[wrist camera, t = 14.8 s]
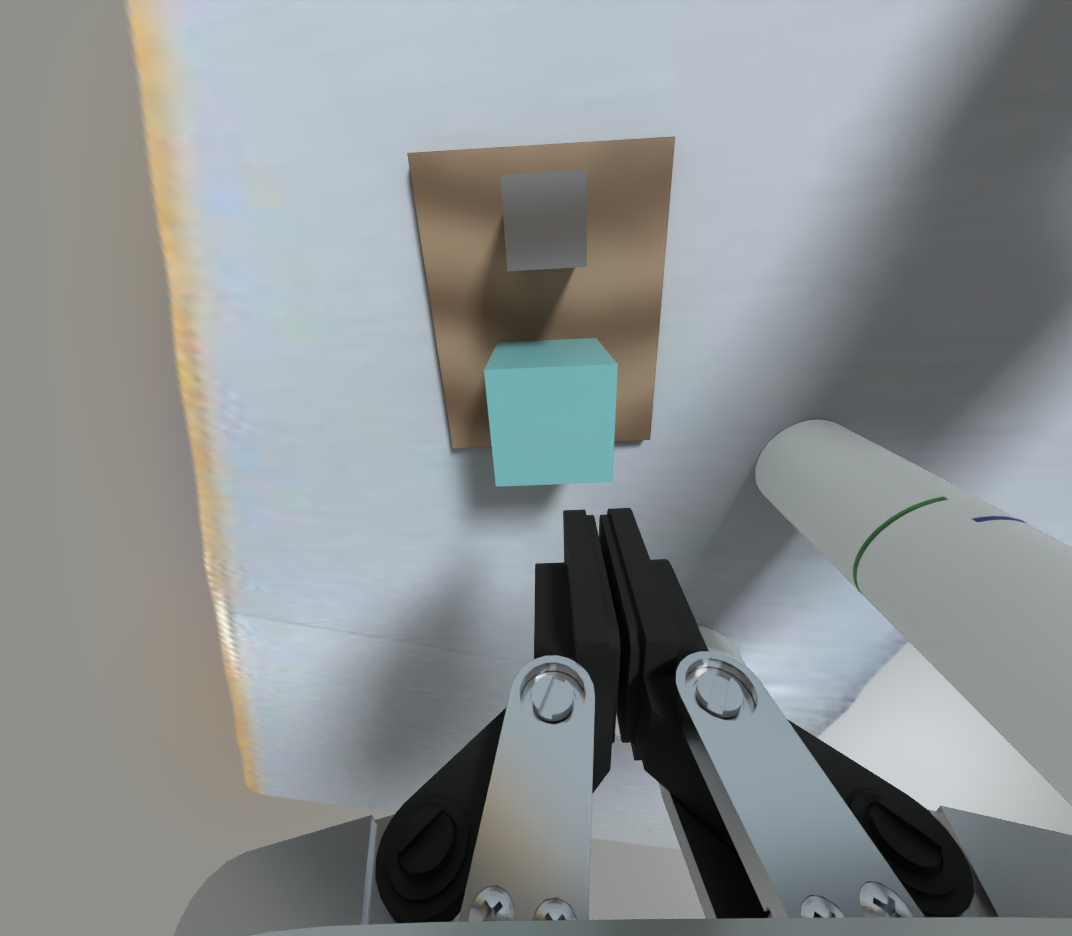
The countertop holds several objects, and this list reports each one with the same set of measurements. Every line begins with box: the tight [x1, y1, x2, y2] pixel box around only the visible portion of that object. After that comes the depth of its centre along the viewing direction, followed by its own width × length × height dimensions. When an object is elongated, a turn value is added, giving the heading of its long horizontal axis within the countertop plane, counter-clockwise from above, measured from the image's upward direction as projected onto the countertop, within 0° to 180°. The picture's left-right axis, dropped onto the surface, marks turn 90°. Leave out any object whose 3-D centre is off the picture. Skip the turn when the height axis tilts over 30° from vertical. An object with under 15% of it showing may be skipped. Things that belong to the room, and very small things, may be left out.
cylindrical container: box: [755, 419, 1072, 806], centre depth 19 cm, size 7×7×25 cm
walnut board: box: [407, 137, 675, 449], centre depth 23 cm, size 17×14×7 cm
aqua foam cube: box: [484, 338, 618, 487], centre depth 24 cm, size 6×6×8 cm
